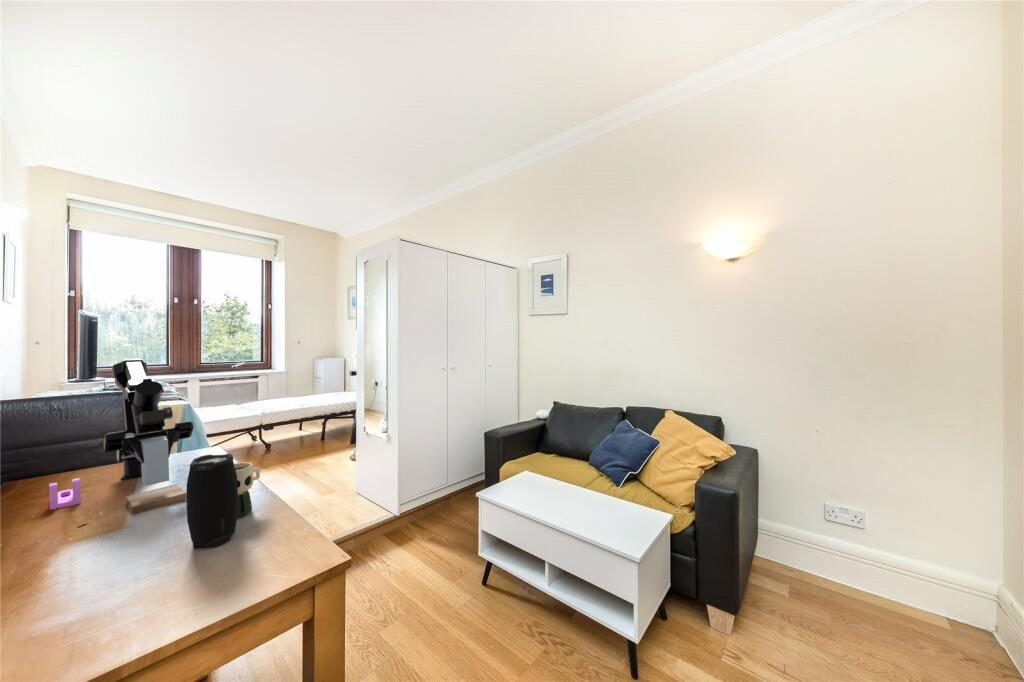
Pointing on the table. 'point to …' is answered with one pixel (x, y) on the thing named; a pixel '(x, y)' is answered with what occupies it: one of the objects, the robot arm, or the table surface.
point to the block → (155, 461)
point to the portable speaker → (212, 500)
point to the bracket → (60, 501)
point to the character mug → (245, 485)
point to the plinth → (155, 498)
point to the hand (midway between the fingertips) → (155, 459)
